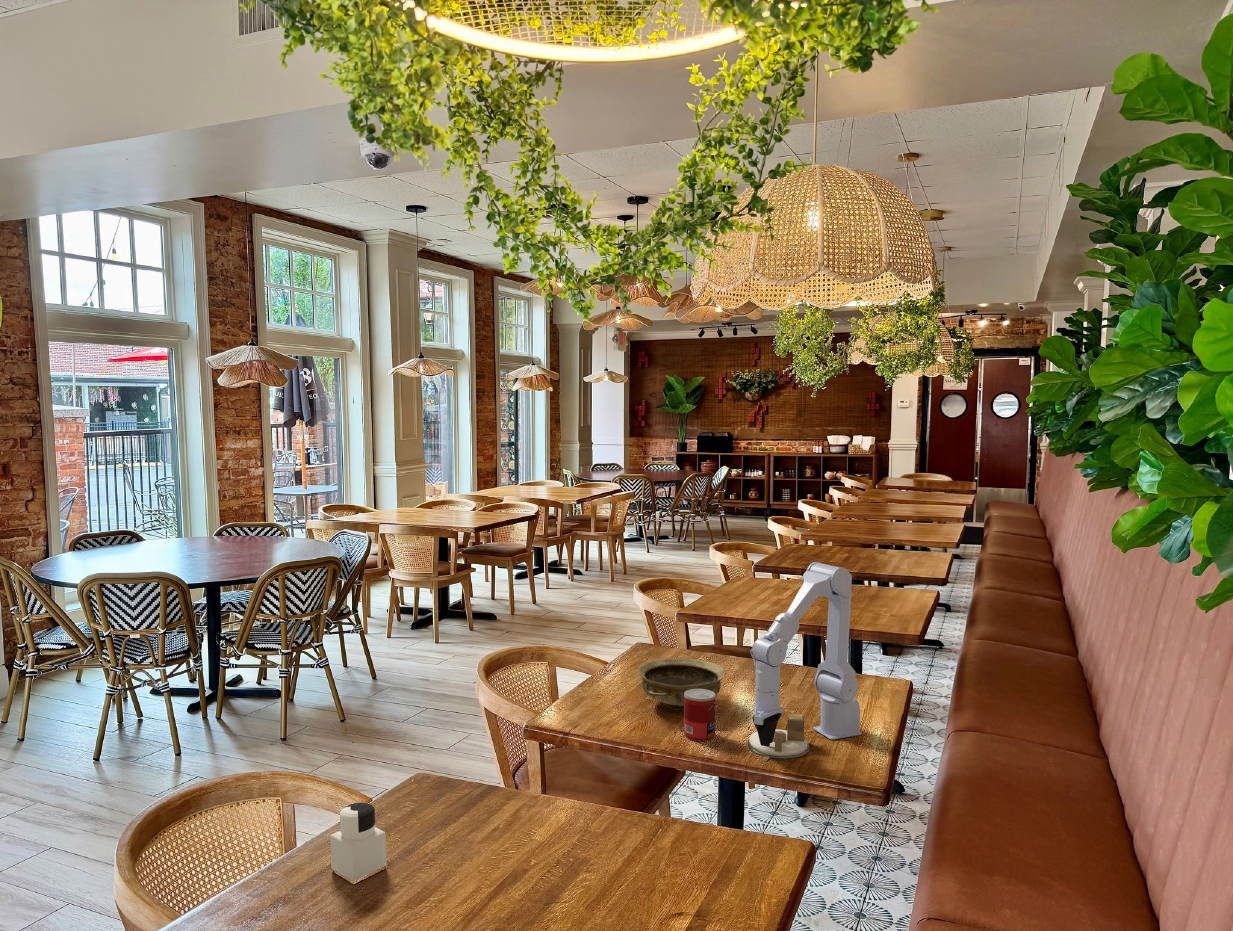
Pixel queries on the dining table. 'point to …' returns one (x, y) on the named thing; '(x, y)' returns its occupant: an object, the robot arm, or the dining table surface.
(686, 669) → the ceramic bowl
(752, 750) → the bearing plate
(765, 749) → the turntable
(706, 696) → the canned food
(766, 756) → the index mark
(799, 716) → the walnut block
